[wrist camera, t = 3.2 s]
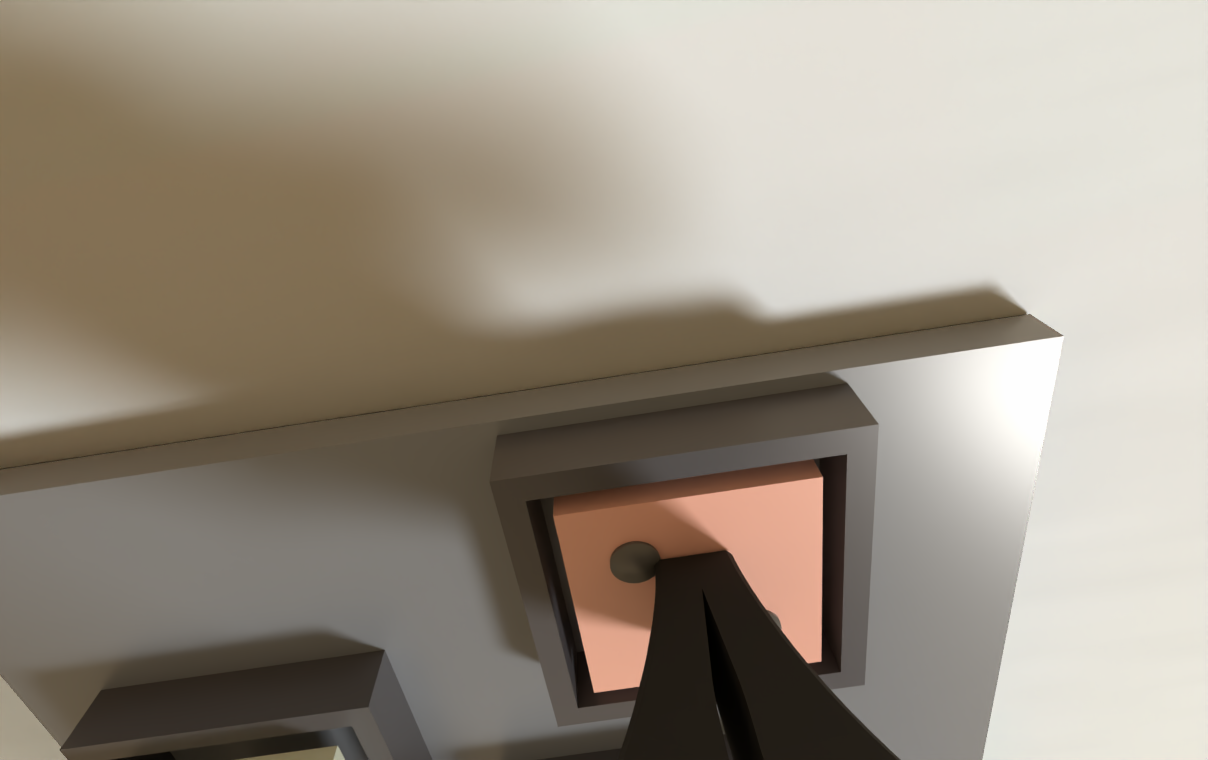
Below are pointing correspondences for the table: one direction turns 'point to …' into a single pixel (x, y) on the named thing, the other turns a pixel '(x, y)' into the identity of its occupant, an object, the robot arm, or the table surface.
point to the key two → (305, 755)
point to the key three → (688, 527)
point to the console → (516, 557)
